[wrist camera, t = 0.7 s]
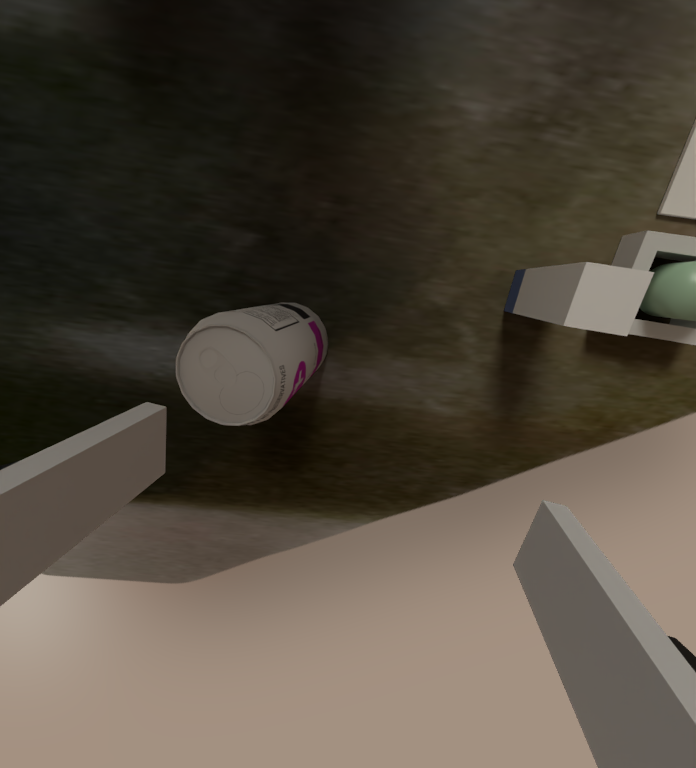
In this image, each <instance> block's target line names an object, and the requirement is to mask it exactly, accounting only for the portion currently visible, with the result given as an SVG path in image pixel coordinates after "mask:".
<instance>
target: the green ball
mask: <svg viewBox="0 0 696 768" xmlns="http://www.w3.org/2000/svg"><path fill="white" fill-rule="evenodd" d="M650 272H654V274H653V277H652V279H651V282H650V284H649V286H648V289H647V291H646V293H645V296H644V298H643V300H642V303H641V305H640V307H639V308H640V309H641V310H642V311H643V312H644V313H646V314H648V315H651V316H657V317H665V318H674V319H682V320H690V321H696V261H692V262H679V263H668V264H664V265H660V266H658V267H656V268H654V269H653V270H651V271H650Z"/></svg>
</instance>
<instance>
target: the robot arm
mask: <svg viewBox="0 0 696 768" xmlns="http://www.w3.org/2000/svg"><path fill="white" fill-rule="evenodd" d="M166 408H167V407H165V406H161V405H157V404H153V403H149V402H145V403H143V404H141V405H139V406H137V407H135V408H133V409H130V410H128V411H126V412H124V413H122V414H120V415H118V416H115V417H113V418H111V419H109V420H107V421H105V422H103V423H100V424H98V425H96V426H94V427H92V428H90V429H87V430H85V431H83V432H81V433H79V434H77V435H75V436H72V437H70V438H68V439H66V440H64V441H62V442H60V443H57V444H55V445H53V446H51V447H49V448H47V449H45V450H42V451H40V452H38V453H36V454H34V455H32V456H30V457H27V458H25V459H23V460H21V461H17V462H13V463H10V464H6V465H3V466H0V606H1V605H2V604H4V603H5V602H6V601H7V600H9V599H10V598H11V597H12V596H13V595H15V594H16V593H17V592H18V591H20V590H21V589H22V588H23V587H24V586H26V585H27V584H28V583H30V582H31V581H32V580H33V579H34V578H36V577H37V576H38V575H39V574H41V573H42V572H43V571H44V570H46V569H47V568H48V567H49V566H51V565H52V564H53V563H54V562H56V561H57V560H58V559H59V558H60V557H62V556H63V555H64V554H65V553H67V552H68V551H69V550H70V549H72V548H73V547H74V546H75V545H77V544H78V543H79V542H80V541H81V540H83V539H84V538H85V537H86V536H88V535H89V534H90V533H91V532H93V531H94V530H95V529H96V528H98V527H99V526H100V525H101V524H102V523H104V522H105V521H106V520H107V519H109V518H110V517H111V516H112V515H114V514H115V513H116V512H117V511H119V510H120V509H121V508H122V507H123V506H125V505H126V504H127V503H128V502H130V501H131V500H132V499H133V498H135V497H136V496H137V495H138V494H140V493H141V492H142V491H143V490H144V489H146V488H147V487H148V486H149V485H151V484H152V483H153V482H154V481H156V480H157V479H158V478H159V477H161V476H162V475H163V474H164V473H165V456H166ZM513 566H514V568H515V570H516V573H517V575H518V578H519V580H520V583H521V585H522V587H523V589H524V592H525V594H526V597H527V599H528V601H529V604H530V606H531V609H532V611H533V614H534V615H535V618H536V621H537V623H538V625H539V628H540V630H541V633H542V635H543V637H544V640H545V642H546V645H547V647H548V649H549V651H550V654H551V657H552V659H553V661H554V664H555V666H556V668H557V671H558V673H559V676H560V678H561V680H562V683H563V685H564V688H565V690H566V692H567V695H568V697H569V700H570V702H571V704H572V707H573V709H574V711H575V714H576V716H577V719H578V721H579V723H580V726H581V728H582V730H583V733H584V735H585V738H586V740H587V742H588V745H589V747H590V749H591V752H592V754H593V757H594V759H595V762H596V764H597V766H598V768H696V657H695V656H694V655H693V654H692V653H691V652H690V651H689V650H688V649H687V648H686V647H685V646H683V645H682V644H681V643H680V642H679V641H678V640H677V639H676V638H673V637H670V636H667V635H666V634H665V632H664V631H663V630H662V628H661V627H660V626H659V625H658V623H657V622H656V621H655V619H654V618H653V617H652V616H651V614H650V613H649V612H648V610H647V609H646V608H645V606H644V605H643V604H642V603H641V602H640V600H639V599H638V597H637V596H636V595H635V594H634V592H633V591H632V590H631V589H630V587H629V586H628V585H627V584H626V582H625V581H624V579H623V578H622V577H621V575H620V574H619V573H618V572H617V570H616V569H615V568H614V566H613V565H612V564H611V563H610V561H609V560H608V559H607V557H606V556H605V555H604V554H603V552H602V551H601V550H600V549H599V547H598V546H597V544H596V543H595V542H594V541H593V539H592V538H591V537H590V536H589V534H588V533H587V532H586V530H585V529H584V528H583V526H582V525H581V524H580V523H579V521H578V520H577V519H576V517H575V516H574V515H573V514H572V512H571V511H570V510H569V508H568V507H567V506H564V505H560V504H556V503H552V502H548V501H544V500H543V501H542V503H541V505H540V507H539V509H538V511H537V514H536V516H535V518H534V520H533V522H532V524H531V527H530V529H529V531H528V533H527V535H526V538H525V540H524V542H523V544H522V546H521V548H520V551H519V553H518V555H517V557H516V559H515V562H514V564H513Z"/></svg>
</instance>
